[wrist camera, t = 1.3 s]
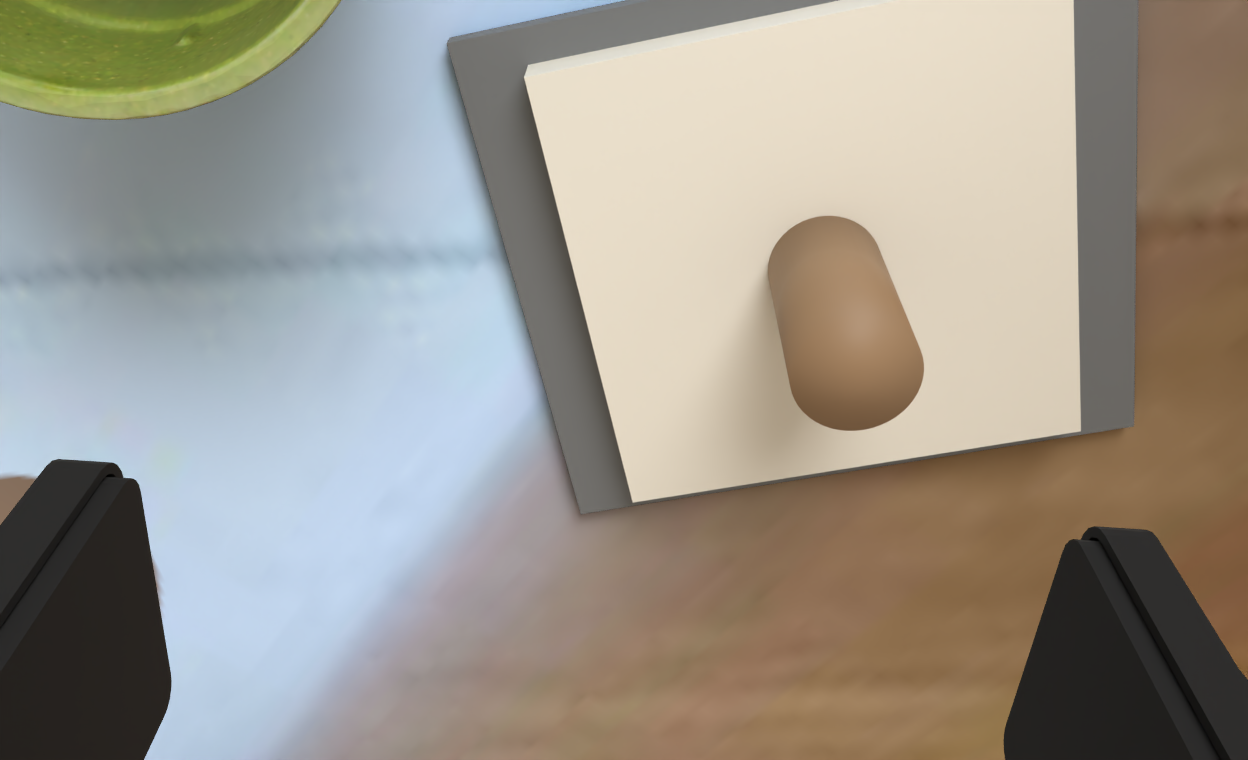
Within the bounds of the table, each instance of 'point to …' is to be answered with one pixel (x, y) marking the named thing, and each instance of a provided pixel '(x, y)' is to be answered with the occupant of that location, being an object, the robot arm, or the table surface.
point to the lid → (823, 235)
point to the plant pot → (144, 52)
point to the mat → (691, 3)
